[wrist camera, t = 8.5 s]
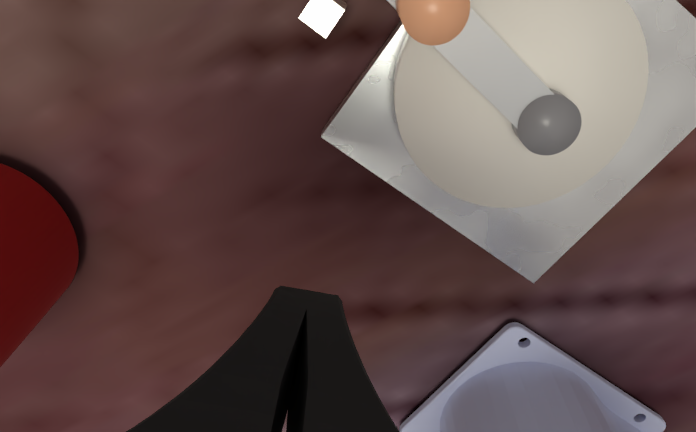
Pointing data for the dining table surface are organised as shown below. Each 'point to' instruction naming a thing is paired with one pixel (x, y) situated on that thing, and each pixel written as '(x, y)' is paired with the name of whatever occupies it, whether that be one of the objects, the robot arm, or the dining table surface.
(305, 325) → the robot arm
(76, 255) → the beverage can
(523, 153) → the white lever switch
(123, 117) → the dining table surface
